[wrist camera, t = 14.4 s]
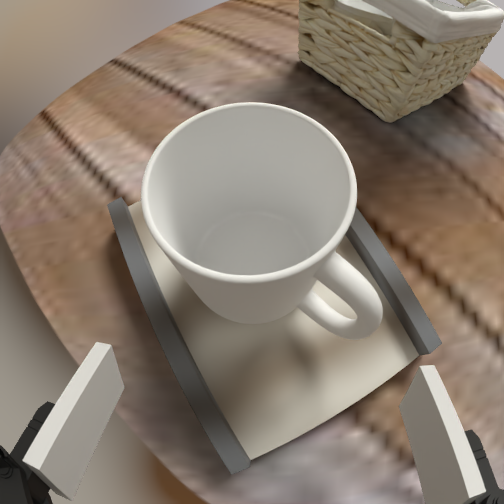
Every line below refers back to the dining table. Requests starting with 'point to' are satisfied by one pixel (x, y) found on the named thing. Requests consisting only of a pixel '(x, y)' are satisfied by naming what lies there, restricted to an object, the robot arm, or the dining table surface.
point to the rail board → (272, 345)
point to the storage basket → (395, 48)
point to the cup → (259, 216)
